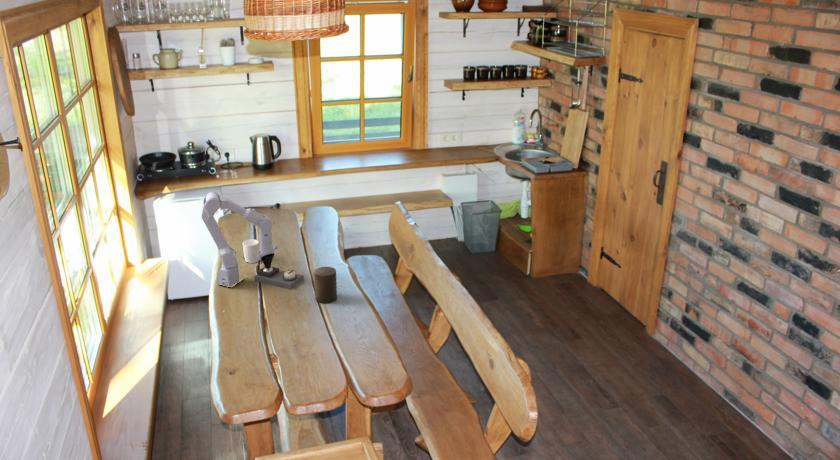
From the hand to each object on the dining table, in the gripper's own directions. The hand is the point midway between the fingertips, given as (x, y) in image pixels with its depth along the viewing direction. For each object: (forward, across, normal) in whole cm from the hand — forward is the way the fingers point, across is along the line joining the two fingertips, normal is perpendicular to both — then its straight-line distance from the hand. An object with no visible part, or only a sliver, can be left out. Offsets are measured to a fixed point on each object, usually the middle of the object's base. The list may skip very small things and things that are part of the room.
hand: (267, 267), depth 333 cm
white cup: (+6, +13, +19) cm, 24 cm away
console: (+5, 0, -6) cm, 8 cm away
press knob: (+2, 0, 0) cm, 3 cm away
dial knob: (+2, 0, -12) cm, 12 cm away
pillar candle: (+6, -6, -35) cm, 36 cm away
